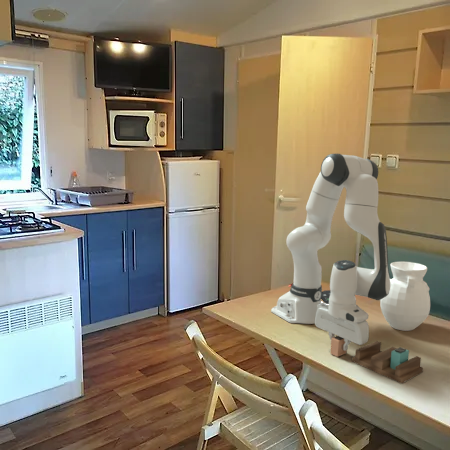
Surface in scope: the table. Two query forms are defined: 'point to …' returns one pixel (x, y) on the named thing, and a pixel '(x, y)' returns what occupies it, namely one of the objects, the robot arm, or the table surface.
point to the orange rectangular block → (337, 346)
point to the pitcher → (406, 296)
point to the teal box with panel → (398, 357)
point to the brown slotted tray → (386, 362)
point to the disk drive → (326, 296)
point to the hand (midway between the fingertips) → (339, 347)
